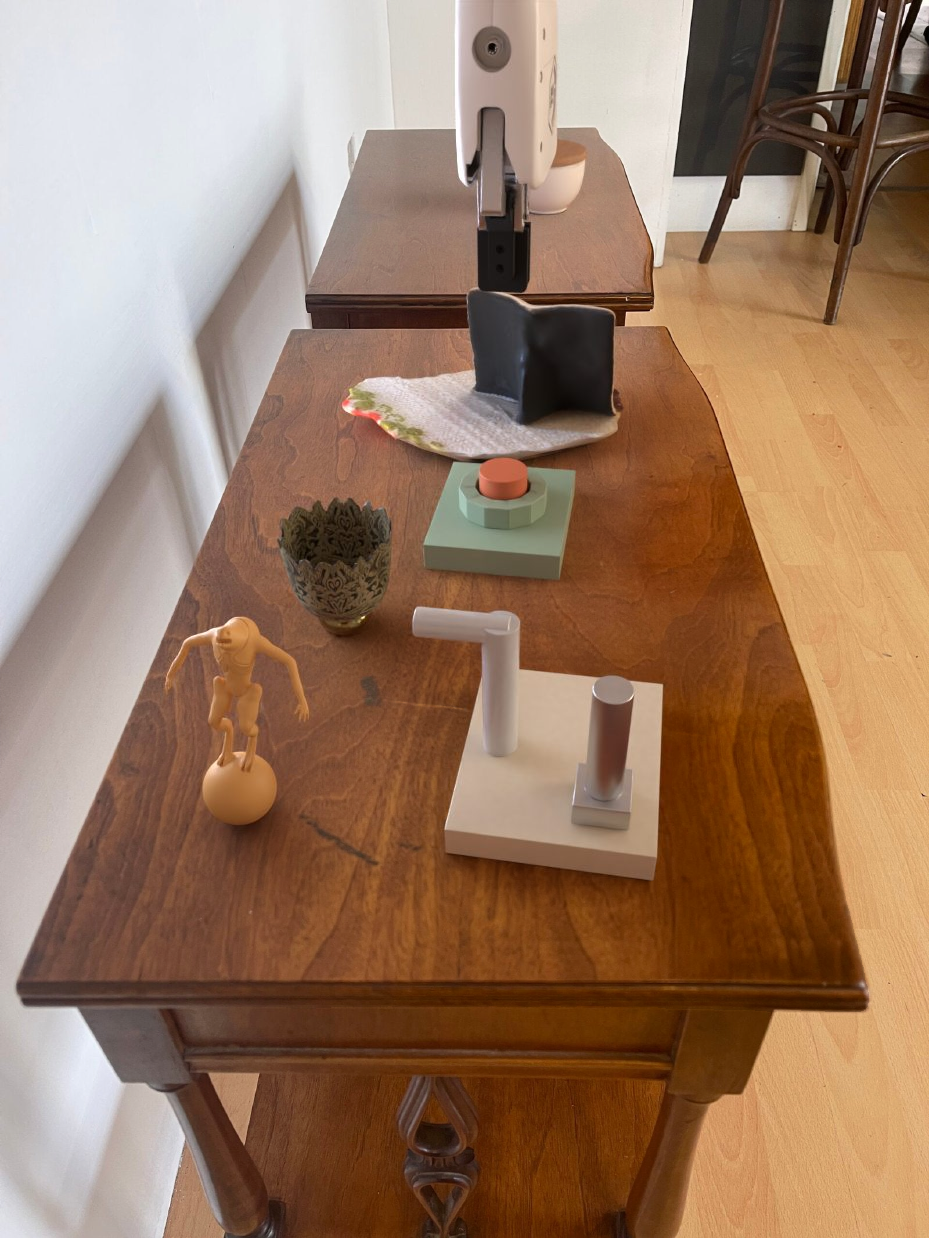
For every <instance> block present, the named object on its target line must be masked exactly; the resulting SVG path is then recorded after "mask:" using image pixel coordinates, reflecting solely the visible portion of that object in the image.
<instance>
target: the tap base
mask: <svg viewBox="0 0 929 1238" xmlns="http://www.w3.org/2000/svg"><path fill="white" fill-rule="evenodd" d="M411 627H412V628H411V629H412V634H413V636H414V637H415V638H425V639H433V640H443V641H454V642H464V643H474V644H481V678H480V682H479V686H478V690H477V695H476V699H475V702H474V706H473V710H472V714H471V719H470V723H469V727H468V731H467V735H466V739H465V743H464V746H463V747H464V748H463V752H462V756H461V759H460V762H459V763H460V764H459V767H458V771H457V775H456V780H455V783H454V788H453V792H452V796H451V801H450V805H449V809H448V813H447V817H446V821H445V826H444V829H443V831H444V849H445V850H444V851H445V853H446V854H450V855H451V854H452V855H459V856H466V857H472V858H473V857H475V858H482V859H488V860H496V861H504V862H509V863H510V862H512V863H517V864H525V865H534V866H541V867H548V868H549V867H550V868H556V869H564V870H570V871H577V872H578V871H579V872H586V873H593V874H600V875H601V874H602V875H608V876H615V877H622V878H623V877H624V878H630V879H637V880H645V881H654V878H655V872H656V865H657V860H658V844H659V843H658V841H659V839H658V838H659V813H660V811H659V810H660V786H661V785H660V784H661V783H660V781H661V755H662V754H661V753H662V729H663V728H662V727H663V726H662V725H663V699H664V697H663V696H664V684H663V683H656V682H655V683H654V682H645V681H635V680H628V681H629V682H630V683H631V684H632V685H633V687H634V690H635V694H634V702H633V710H632V718H631V727H630V735H629V743H628V751H627V759H626V769H633V770H634V775H633V791H632V807H631V817H630V825H629V830H621V829H613V828H605V827H597V826H589V825H581V824H574V823H571V816H572V803H573V795H574V787H575V779H576V771H577V764H578V763H584V764H586V760H587V748H588V736H589V724H590V712H591V700H592V688H593V685H594V683H595V682H596V681H597V680H598V679H599V678H600V677H599V676H598V677H597V676H587V675H579V674H570V673H559V672H552V671H551V672H550V671H539V670H531V669H523V668H520V663H521V661H520V659H521V657H520V656H521V620H520V618H519V617H518V616H517V615H516V614H515V613H513V612H511V611H508V610H493V611H490V612H482V611H471V610H460V609H452V608H451V609H449V608H440V607H430V606H419V605H418V606H416V607H415V609H414V612H413V617H412V625H411Z"/></svg>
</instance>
